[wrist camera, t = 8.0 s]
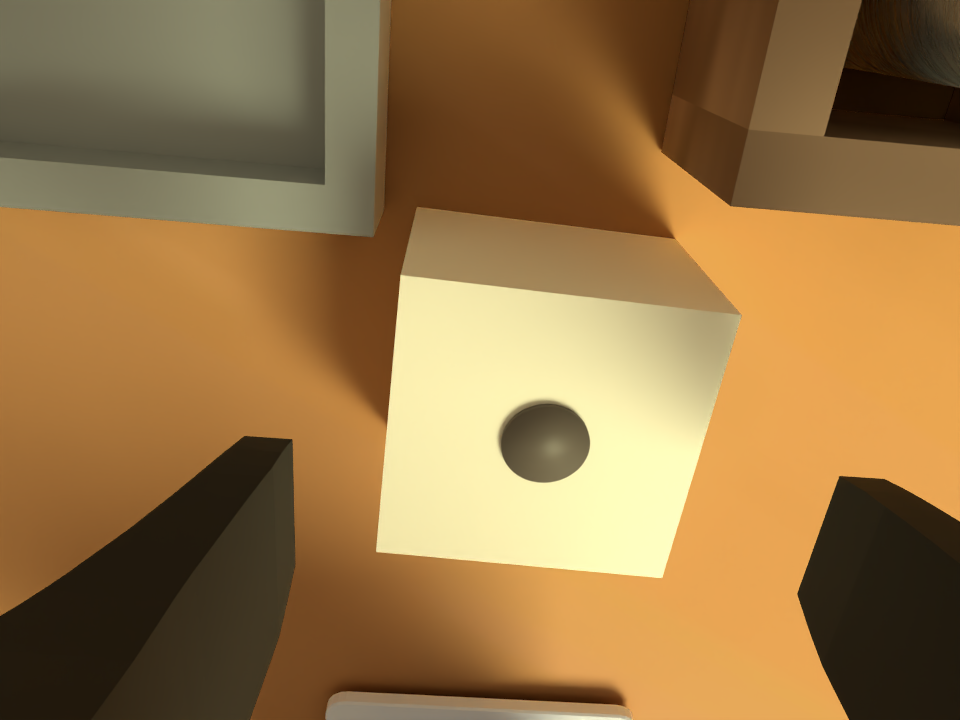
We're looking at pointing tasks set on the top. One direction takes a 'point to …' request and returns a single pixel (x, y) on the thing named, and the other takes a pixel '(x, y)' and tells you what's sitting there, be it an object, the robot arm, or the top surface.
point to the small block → (547, 393)
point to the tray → (197, 110)
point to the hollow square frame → (800, 119)
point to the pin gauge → (908, 40)
